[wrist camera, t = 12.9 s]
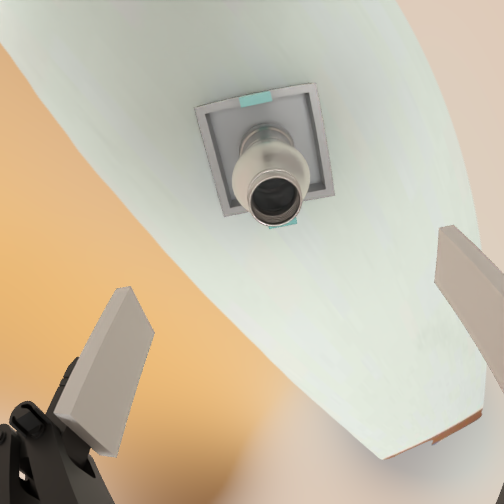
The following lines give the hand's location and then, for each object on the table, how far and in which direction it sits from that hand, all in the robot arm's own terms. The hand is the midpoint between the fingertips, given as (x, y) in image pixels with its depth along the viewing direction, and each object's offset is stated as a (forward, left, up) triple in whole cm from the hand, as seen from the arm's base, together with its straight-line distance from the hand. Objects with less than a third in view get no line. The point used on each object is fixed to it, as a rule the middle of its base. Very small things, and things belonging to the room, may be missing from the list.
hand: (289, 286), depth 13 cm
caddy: (0, 0, -31) cm, 31 cm away
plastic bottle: (0, 0, -30) cm, 30 cm away
